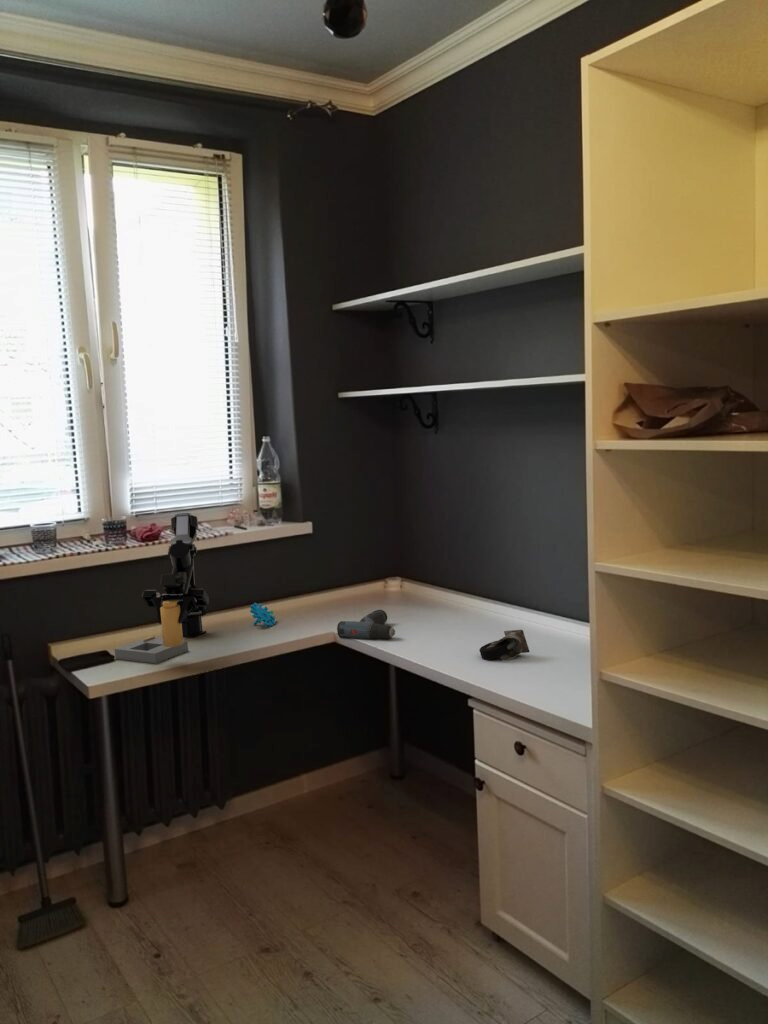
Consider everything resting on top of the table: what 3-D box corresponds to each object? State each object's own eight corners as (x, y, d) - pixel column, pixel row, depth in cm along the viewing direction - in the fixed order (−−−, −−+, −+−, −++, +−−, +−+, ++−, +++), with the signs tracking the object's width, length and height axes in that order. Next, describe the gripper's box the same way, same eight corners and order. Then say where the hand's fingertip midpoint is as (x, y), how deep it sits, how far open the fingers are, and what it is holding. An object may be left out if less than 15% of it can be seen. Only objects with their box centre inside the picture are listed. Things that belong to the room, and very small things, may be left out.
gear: (264, 625, 283) (246, 602, 287) (253, 637, 285) (236, 614, 289) (283, 622, 293) (267, 599, 296) (273, 633, 295) (257, 611, 298)
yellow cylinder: (172, 640, 254) (168, 599, 253) (187, 642, 252) (183, 600, 250) (159, 645, 249) (155, 603, 248) (174, 647, 247) (170, 604, 245)
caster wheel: (478, 667, 239) (499, 653, 246) (510, 665, 231) (531, 651, 238) (471, 644, 239) (492, 631, 246) (502, 642, 231) (523, 628, 238)
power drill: (417, 626, 279) (391, 643, 261) (365, 623, 287) (336, 639, 269) (416, 610, 278) (390, 626, 260) (364, 607, 286) (335, 622, 268)
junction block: (148, 646, 271) (147, 634, 271) (188, 650, 264) (187, 638, 263) (115, 658, 259) (114, 646, 259) (155, 663, 251) (154, 650, 251)
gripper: (141, 562, 253) (128, 608, 244) (202, 561, 250) (191, 607, 241) (154, 583, 262) (142, 629, 252) (213, 582, 259) (204, 627, 249)
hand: (169, 623), depth 248 cm, fingers closed on yellow cylinder, 6 cm apart
